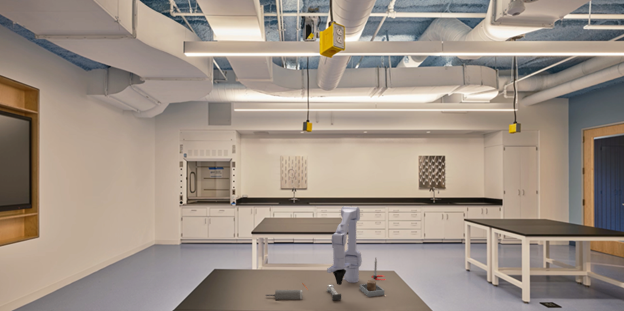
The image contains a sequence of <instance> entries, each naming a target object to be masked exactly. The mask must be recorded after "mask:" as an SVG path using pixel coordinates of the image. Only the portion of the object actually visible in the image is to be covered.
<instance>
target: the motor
mask: <svg viewBox="0 0 624 311" xmlns="http://www.w3.org/2000/svg"><path fill="white" fill-rule="evenodd" d="M301 284H302V285H303V286H304V287H305V289H306V290H307V291H309V289H308V288H307V286H306V285H305V283H303V282H301ZM274 292H275V293H274V294H265V296H266V297H274V299H275V300H274V301H279V300H303V290H302V289H275V291H274Z"/></svg>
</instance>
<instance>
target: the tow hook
mask: <svg viewBox="0 0 624 311" xmlns="http://www.w3.org/2000/svg"><path fill="white" fill-rule="evenodd" d="M377 266H378V261H377V257H375V260H374V268H373V269H374V270H373V275H371V278H373V279H374V281H386V280H387V279H386V278H382V277H385V275H382V274H381V275H378V270H377V268H378V267H377Z"/></svg>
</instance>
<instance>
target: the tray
mask: <svg viewBox="0 0 624 311" xmlns="http://www.w3.org/2000/svg"><path fill="white" fill-rule="evenodd" d="M359 290H360V291H361V292H362V293H363V294H365V296H367V297H375V296H376V297H378V296H385V289H384V288H382V287H381V286H379V284H377V283H376V291H368V290H367V283H360V284H359Z"/></svg>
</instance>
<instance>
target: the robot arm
mask: <svg viewBox="0 0 624 311" xmlns="http://www.w3.org/2000/svg"><path fill="white" fill-rule="evenodd" d="M340 216H341V222H340V223H339V224H338V225H337V227H336V230H335V232H334V233H333V234H331V245H332V252H333V256H332V257H333V262H332V263H333V264H332V265H331V266H329V267H328V268H327V269H326V273H328V274H331V273H332V274H333V275H334V279H335V282H336V285H338V286H341V285H343V280H346V282H348V283H358V282H359V281H360V276H359V274H360V272H359V271H360V267H362V262H363V261H362V254H361V252H360V250H358V249H357V223H358V221H360V219H361V211H360V208H359V206H345V205H344V206H341V208H340ZM347 234H348V235H347ZM347 241H348V242H347ZM346 243H347V250H345V246H346Z"/></svg>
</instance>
